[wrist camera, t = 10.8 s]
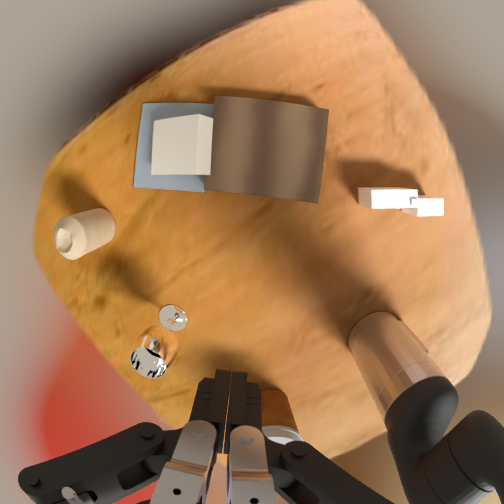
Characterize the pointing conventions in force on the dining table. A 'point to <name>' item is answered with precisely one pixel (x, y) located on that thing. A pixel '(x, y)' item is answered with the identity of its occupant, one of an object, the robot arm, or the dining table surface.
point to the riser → (267, 148)
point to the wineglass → (158, 344)
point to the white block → (182, 145)
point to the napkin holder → (401, 200)
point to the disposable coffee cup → (278, 417)
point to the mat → (145, 143)
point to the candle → (83, 232)
